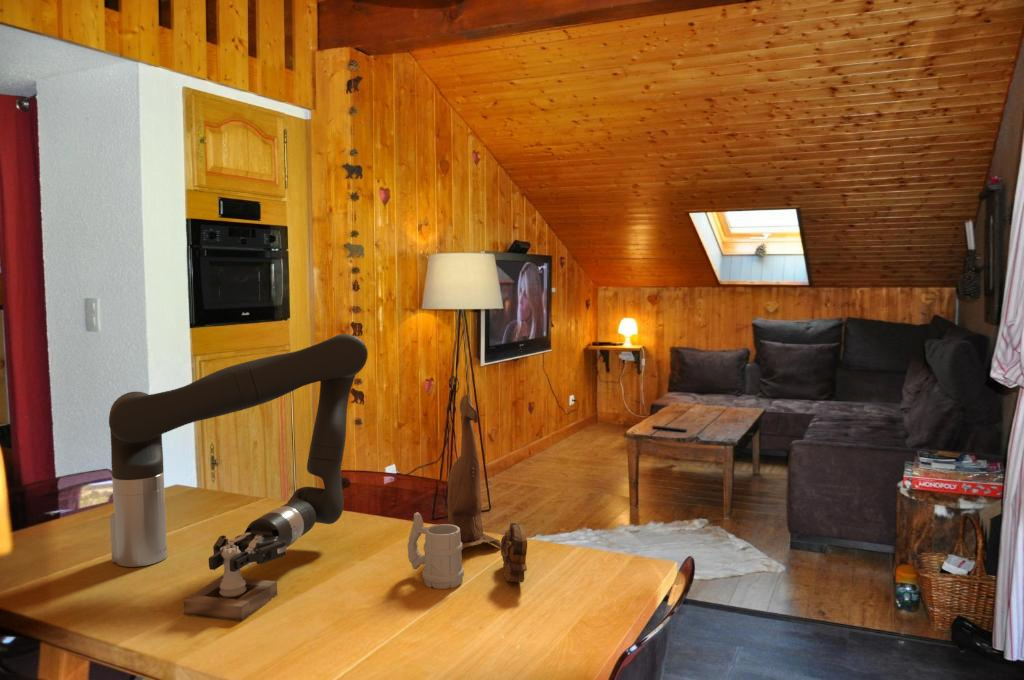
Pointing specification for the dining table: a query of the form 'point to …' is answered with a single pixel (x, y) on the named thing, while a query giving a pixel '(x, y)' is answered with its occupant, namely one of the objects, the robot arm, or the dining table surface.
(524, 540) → the wooden carving
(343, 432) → the robot arm
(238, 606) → the square tray
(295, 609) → the dining table surface
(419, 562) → the mug
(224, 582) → the rook chess piece
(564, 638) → the dining table surface
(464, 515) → the bird sculpture
